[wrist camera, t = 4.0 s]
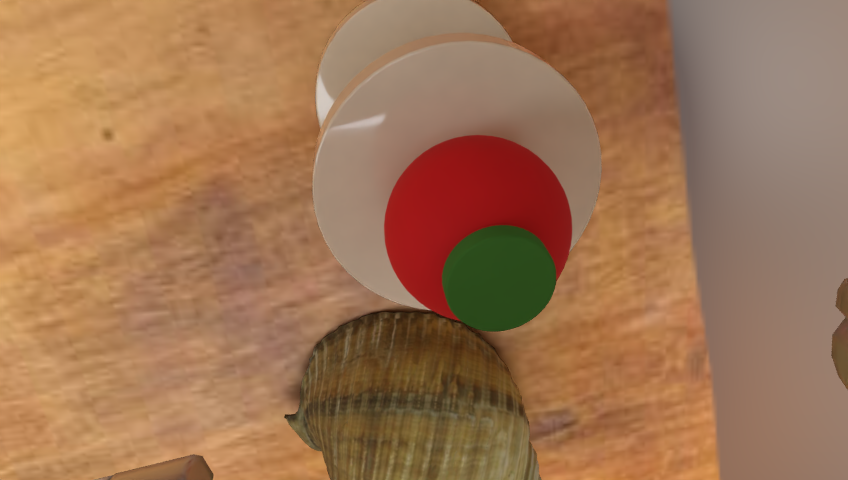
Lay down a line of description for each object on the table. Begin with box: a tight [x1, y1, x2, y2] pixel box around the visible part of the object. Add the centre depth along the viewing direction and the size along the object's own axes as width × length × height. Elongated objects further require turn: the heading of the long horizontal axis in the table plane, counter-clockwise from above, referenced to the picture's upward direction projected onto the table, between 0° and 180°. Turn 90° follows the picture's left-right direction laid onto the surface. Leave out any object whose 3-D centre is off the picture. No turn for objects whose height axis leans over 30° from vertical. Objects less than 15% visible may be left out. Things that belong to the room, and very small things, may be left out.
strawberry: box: [384, 135, 572, 331], centre depth 12 cm, size 3×3×4 cm
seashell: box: [284, 312, 541, 480], centre depth 24 cm, size 10×7×8 cm
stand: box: [312, 0, 602, 310], centre depth 17 cm, size 6×6×7 cm
